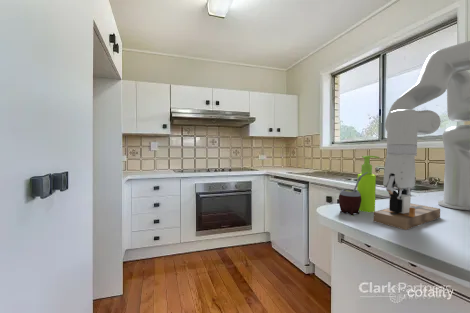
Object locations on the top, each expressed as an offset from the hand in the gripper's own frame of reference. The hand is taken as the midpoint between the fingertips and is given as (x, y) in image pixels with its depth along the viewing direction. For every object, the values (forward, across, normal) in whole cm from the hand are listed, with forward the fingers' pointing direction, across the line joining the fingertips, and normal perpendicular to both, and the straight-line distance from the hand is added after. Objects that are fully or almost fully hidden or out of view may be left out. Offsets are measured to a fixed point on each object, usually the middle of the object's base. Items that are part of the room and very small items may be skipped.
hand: (399, 209), depth 73 cm
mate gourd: (+4, +4, -14) cm, 15 cm away
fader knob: (0, 0, 0) cm, 0 cm away
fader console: (+4, -5, 0) cm, 7 cm away
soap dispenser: (+4, -5, -13) cm, 15 cm away
